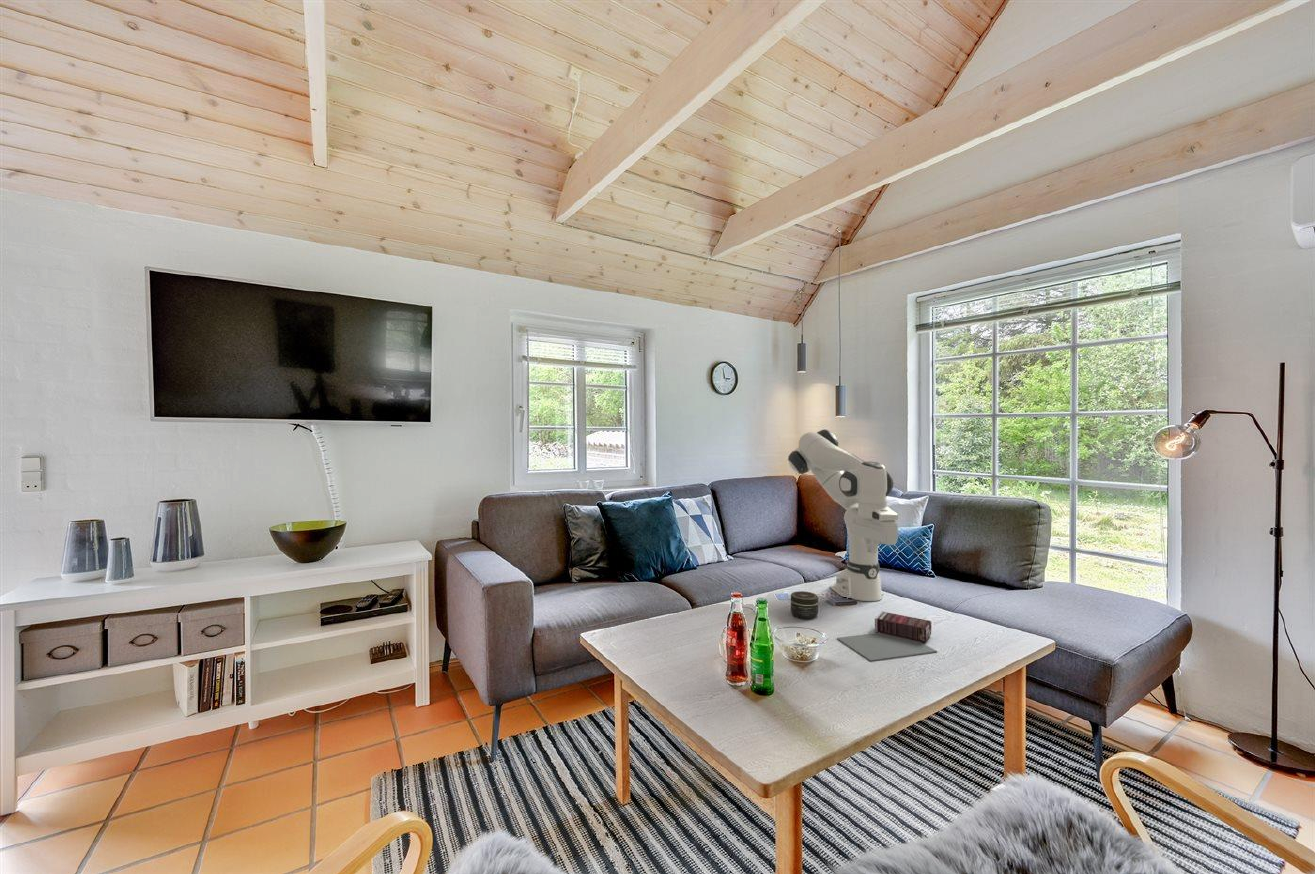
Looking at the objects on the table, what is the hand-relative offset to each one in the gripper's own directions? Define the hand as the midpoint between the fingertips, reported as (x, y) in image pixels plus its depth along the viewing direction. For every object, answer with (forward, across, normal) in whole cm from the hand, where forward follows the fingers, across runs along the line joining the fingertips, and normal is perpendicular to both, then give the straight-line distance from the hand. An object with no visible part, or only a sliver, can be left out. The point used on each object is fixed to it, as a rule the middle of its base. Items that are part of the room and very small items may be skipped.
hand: (871, 552), depth 174 cm
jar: (+29, -23, -11) cm, 38 cm away
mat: (+28, +8, 0) cm, 29 cm away
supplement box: (+26, -5, +7) cm, 27 cm away
